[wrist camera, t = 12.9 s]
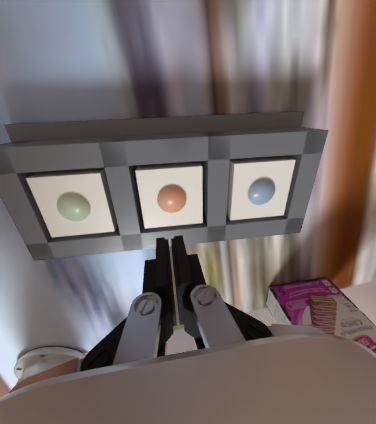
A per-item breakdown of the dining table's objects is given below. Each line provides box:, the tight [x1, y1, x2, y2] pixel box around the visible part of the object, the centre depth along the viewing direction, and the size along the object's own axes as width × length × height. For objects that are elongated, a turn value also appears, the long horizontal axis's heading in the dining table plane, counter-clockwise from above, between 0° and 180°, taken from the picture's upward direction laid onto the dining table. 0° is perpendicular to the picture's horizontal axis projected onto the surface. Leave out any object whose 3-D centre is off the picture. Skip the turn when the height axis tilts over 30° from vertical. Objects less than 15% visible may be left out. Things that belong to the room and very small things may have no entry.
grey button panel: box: [0, 111, 328, 261], centre depth 21 cm, size 14×29×5 cm, turn 92°
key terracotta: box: [135, 161, 203, 229], centre depth 20 cm, size 6×6×3 cm
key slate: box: [226, 156, 296, 220], centre depth 21 cm, size 6×6×3 cm
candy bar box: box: [266, 278, 376, 353], centre depth 28 cm, size 11×5×16 cm, turn 95°
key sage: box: [26, 167, 118, 237], centre depth 19 cm, size 6×6×3 cm
